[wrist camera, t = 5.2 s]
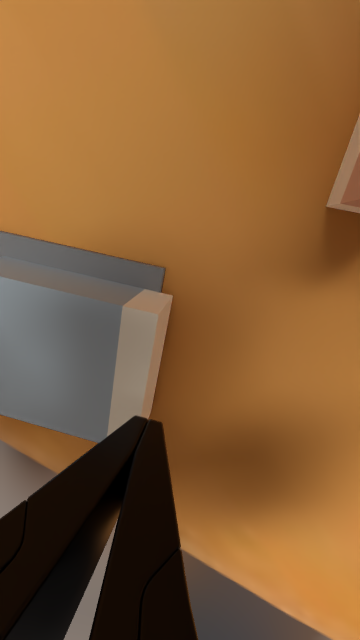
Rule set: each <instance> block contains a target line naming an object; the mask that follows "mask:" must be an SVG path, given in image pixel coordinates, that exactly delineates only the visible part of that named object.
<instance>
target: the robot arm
mask: <svg viewBox="0 0 360 640" xmlns="http://www.w3.org/2000/svg"><path fill="white" fill-rule="evenodd" d="M117 519H118V521H117ZM116 521H117V525H116V529H115V533H114V538H113V542H112V546H111V550H110V554H109V558H108V563H107V566H106V571H105V575H104V579H103V583H102V587H101V591H100V596H99V600H98V604H97V608H96V612H95V617H94V621H93V625H92V629H91V633H90V637H89V640H198V636H197V632H196V627H195V623H194V618H193V614H192V609H191V604H190V599H189V593H188V587H187V581H186V576H185V570H184V563H183V556H182V551H181V550H180V548H181V544H180V537H179V531H178V524H177V517H176V510H175V504H174V497H173V490H172V484H171V477H170V470H169V463H168V457H167V450H166V443H165V436H164V430H163V424H162V423H161V422H159V421H155V420H152V419H150V420H149V421H148V419H147V418H145V417H141V416H137V415H135V416H133V417H132V418H131V419H129V420H128V421H127V422H125V423H124V424H123V425H122V426H120V427H119V428H118V429H116V430H115V431H114V432H113V433H111V434H110V435H109V436H107V437H106V438H105V439H103V440H102V441H101V442H100V443H98V444H97V445H96V446H94V447H93V448H92V449H90V450H89V451H88V452H87V453H85V454H84V455H83V456H81V457H80V458H79V459H78V460H76V461H75V462H74V463H72V464H71V465H70V466H68V467H67V468H66V469H65V470H63V471H62V472H61V473H59V474H58V475H57V476H56V477H54V478H53V479H52V480H51V481H49V482H48V483H47V484H45V485H44V486H43V487H41V488H40V489H39V490H37V491H36V492H35V493H33V494H32V495H31V496H30V497H29V498H28V499H27V501H26V500H24V501H23V502H21V503H20V504H19V505H18V506H16V507H15V508H14V509H12V510H11V511H10V512H9V513H7V514H6V515H5V516H3V517H2V518H1V519H0V640H64V638H65V635H66V633H67V631H68V629H69V626H70V624H71V622H72V619H73V617H74V615H75V613H76V611H77V608H78V606H79V604H80V602H81V599H82V597H83V595H84V593H85V590H86V588H87V586H88V584H89V582H90V579H91V577H92V575H93V573H94V570H95V568H96V566H97V563H98V561H99V559H100V557H101V555H102V552H103V550H104V548H105V546H106V543H107V541H108V539H109V536H110V534H111V532H112V530H113V528H114V525H115V523H116Z"/></svg>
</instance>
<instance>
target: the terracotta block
mask: <svg viewBox="0 0 360 640" xmlns="http://www.w3.org/2000/svg"><path fill="white" fill-rule="evenodd" d="M326 207H330V208H335V209H340V210H345V211H351V212H356V213H360V114H359V117H358V120H357V122H356V125H355V128H354V131H353V133H352V136H351V139H350V142H349V144H348V147H347V150H346V153H345V155H344V158H343V161H342V164H341V166H340V169H339V172H338V175H337V177H336V180H335V183H334V186H333V188H332V191H331V194H330V196H329V199H328V202H327V205H326Z"/></svg>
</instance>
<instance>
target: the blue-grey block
mask: <svg viewBox="0 0 360 640" xmlns="http://www.w3.org/2000/svg"><path fill="white" fill-rule="evenodd" d="M172 299H173V295H168V294H164V293H160V292H156V291H151V290H147V289H143V288H138V287H134V286H130V285H126V284H121V283H117V282H113V281H108V280H104V279H100V278H96V277H91V276H87V275H83V274H78V273H74V272H70V271H65V270H61V269H57V268H53V267H48V266H44V265H40V264H35V263H31V262H27V261H23V260H18V259H14V258H10V257H5V256H3V257H0V415H3V416H7V417H10V418H14V419H17V420H21V421H24V422H28V423H31V424H35V425H38V426H42V427H45V428H49V429H52V430H55V431H59V432H62V433H66V434H69V435H73V436H76V437H80V438H83V439H87V440H90V441H94V442H97V443H100V442H101V441H102V440H103V439H105V438H106V437H107V436H109V435H110V434H111V433H113V432H114V431H115V430H116V429H118V428H119V427H120V426H122V425H123V424H124V423H125V422H127V421H128V420H129V419H131V418H132V417H133V416H135V415H137V416H141V417H145V418H147V419H148V418H149V416H150V413H151V409H152V404H153V398H154V393H155V388H156V383H157V377H158V372H159V367H160V362H161V356H162V351H163V346H164V341H165V335H166V330H167V325H168V320H169V314H170V309H171V304H172Z"/></svg>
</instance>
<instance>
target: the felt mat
mask: <svg viewBox="0 0 360 640" xmlns="http://www.w3.org/2000/svg"><path fill="white" fill-rule="evenodd" d="M3 256H5V257H10V258H14V259H18V260H23V261H27V262H31V263H35V264H40V265H44V266H48V267H53V268H57V269H61V270H65V271H70V272H74V273H78V274H83V275H87V276H91V277H96V278H100V279H104V280H108V281H113V282H117V283H121V284H126V285H130V286H134V287H138V288H143V289H147V290H151V291H156V292H160V293H161V291H162V286H163V280H164V274H165V268H163V267H159V266H155V265H150V264H146V263H141V262H137V261H132V260H128V259H123V258H119V257H115V256H110V255H106V254H101V253H97V252H92V251H88V250H84V249H79V248H75V247H70V246H66V245H61V244H57V243H52V242H48V241H44V240H39V239H35V238H30V237H26V236H21V235H17V234H13V233H8V232H4V231H0V257H3Z"/></svg>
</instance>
